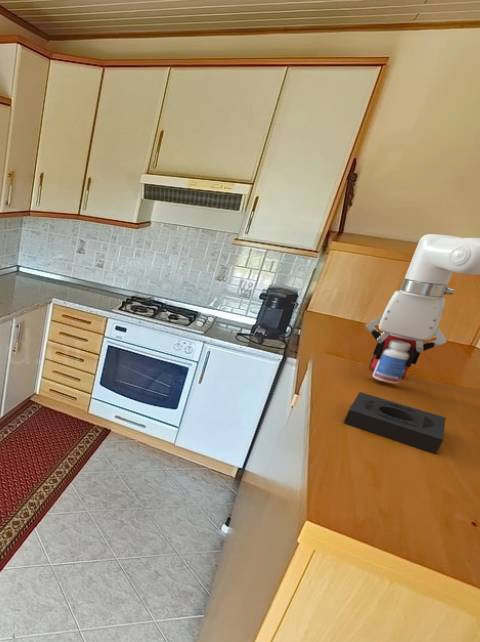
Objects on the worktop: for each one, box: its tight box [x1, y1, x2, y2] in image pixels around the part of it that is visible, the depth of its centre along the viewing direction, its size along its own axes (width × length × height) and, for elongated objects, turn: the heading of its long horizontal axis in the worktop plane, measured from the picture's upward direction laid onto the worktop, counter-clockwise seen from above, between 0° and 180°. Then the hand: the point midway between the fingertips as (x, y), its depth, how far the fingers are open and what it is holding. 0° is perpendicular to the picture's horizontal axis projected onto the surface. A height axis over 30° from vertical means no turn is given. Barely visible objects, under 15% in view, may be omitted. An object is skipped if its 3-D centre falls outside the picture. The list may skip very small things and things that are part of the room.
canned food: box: [369, 334, 416, 378], centre depth 127 cm, size 8×8×11 cm
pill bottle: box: [372, 340, 411, 385], centre depth 119 cm, size 6×5×10 cm
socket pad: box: [343, 391, 446, 455], centre depth 97 cm, size 14×14×3 cm
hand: (392, 361), depth 119 cm, fingers closed on pill bottle, 5 cm apart
